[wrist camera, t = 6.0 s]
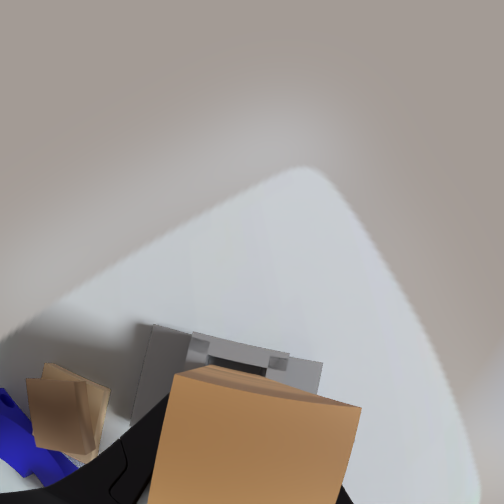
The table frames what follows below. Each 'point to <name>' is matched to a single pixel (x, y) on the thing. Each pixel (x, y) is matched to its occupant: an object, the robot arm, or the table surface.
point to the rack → (213, 353)
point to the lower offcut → (96, 401)
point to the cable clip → (28, 446)
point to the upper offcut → (60, 415)
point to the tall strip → (250, 442)
